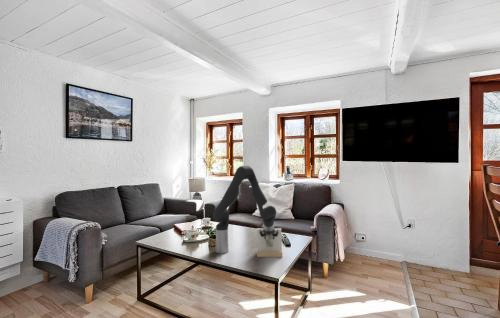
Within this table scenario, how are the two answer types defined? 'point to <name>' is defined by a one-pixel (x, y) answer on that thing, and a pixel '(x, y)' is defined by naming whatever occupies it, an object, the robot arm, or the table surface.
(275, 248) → the wall board
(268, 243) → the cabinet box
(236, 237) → the table surface
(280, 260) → the table surface
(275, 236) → the robot arm
